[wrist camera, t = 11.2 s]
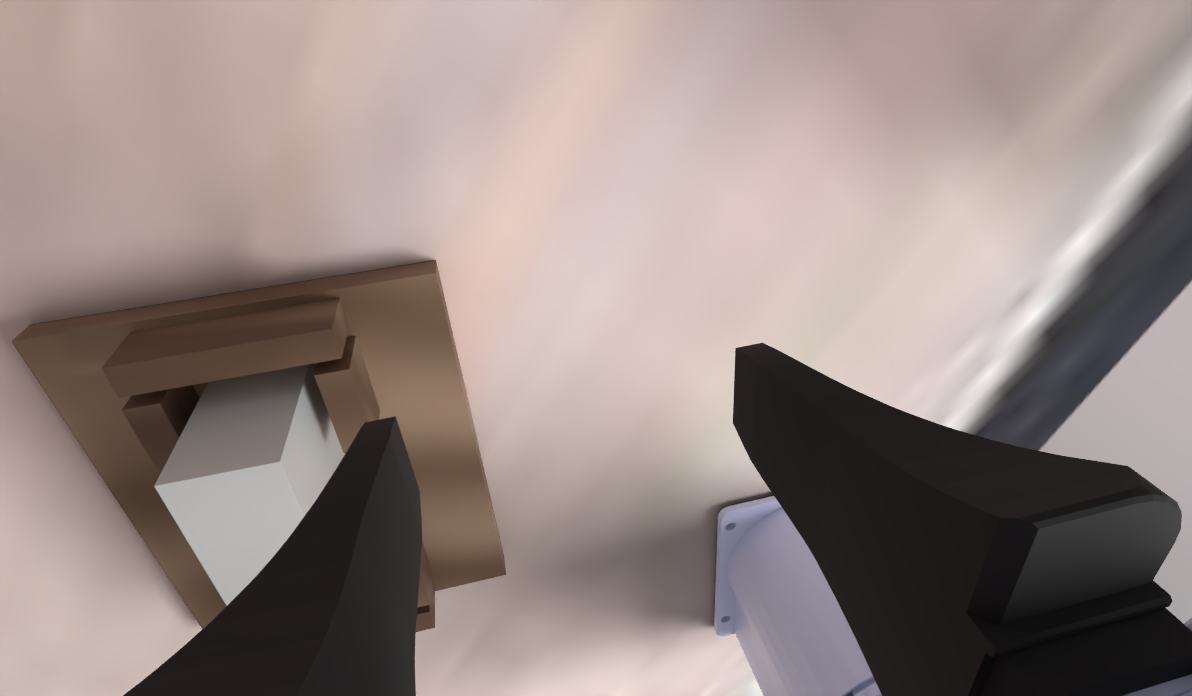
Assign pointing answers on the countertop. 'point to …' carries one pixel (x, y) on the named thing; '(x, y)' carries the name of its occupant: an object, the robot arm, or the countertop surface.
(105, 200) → the countertop surface
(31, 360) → the rack
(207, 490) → the light gray block
